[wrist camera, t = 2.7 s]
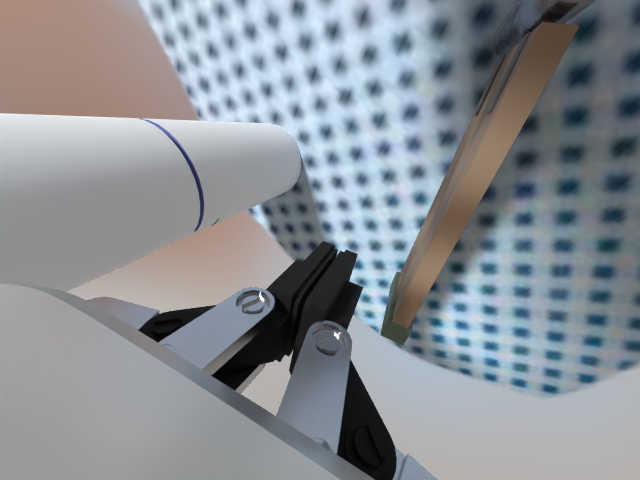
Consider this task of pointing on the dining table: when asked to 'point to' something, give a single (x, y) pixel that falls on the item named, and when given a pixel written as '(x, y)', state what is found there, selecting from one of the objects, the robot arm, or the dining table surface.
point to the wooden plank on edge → (475, 166)
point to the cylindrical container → (124, 188)
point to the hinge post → (534, 19)
